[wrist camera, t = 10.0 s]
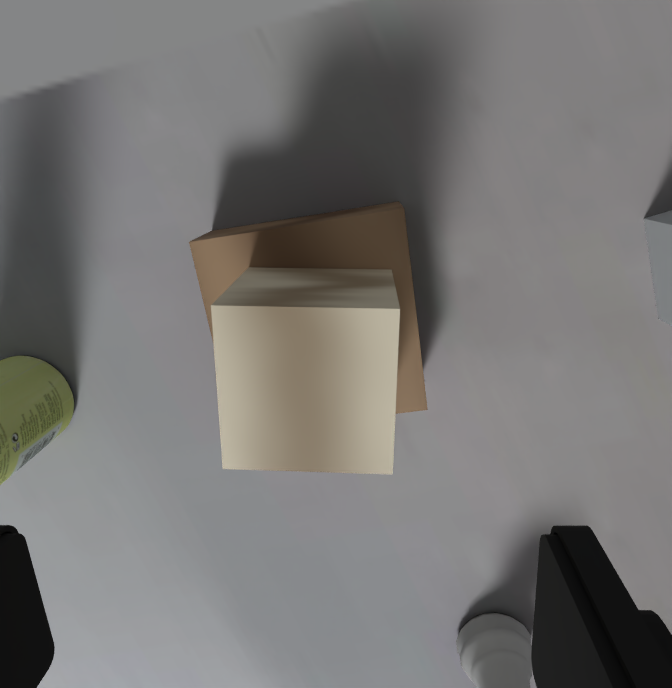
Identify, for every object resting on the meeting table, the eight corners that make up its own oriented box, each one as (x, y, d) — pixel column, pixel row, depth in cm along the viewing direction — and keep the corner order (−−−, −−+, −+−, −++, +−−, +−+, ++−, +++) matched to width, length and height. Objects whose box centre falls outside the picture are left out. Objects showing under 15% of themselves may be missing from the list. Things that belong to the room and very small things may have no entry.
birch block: (391, 269, 23) (400, 308, 17) (386, 400, 25) (392, 474, 19) (248, 267, 23) (210, 305, 18) (254, 397, 25) (222, 468, 20)
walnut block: (398, 200, 26) (404, 208, 22) (418, 376, 29) (427, 409, 25) (213, 229, 27) (188, 241, 23) (251, 397, 30) (235, 433, 26)
